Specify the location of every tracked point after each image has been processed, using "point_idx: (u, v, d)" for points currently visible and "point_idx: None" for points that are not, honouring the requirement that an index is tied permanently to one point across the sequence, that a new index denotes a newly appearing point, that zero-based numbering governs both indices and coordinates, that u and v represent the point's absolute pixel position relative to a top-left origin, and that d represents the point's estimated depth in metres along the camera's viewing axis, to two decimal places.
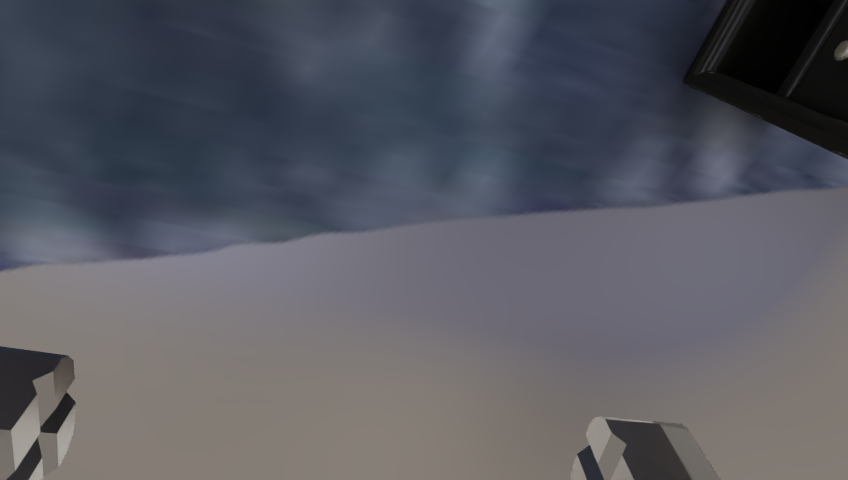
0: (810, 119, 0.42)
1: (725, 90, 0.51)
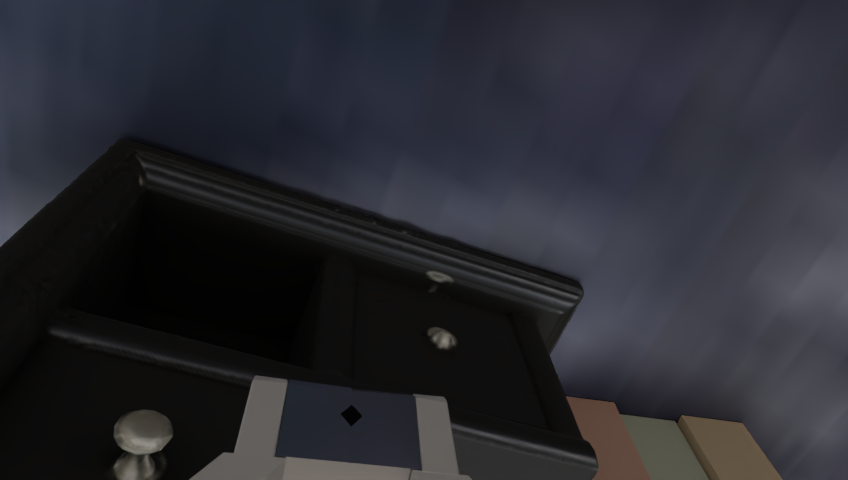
0: None
1: (79, 204, 0.22)
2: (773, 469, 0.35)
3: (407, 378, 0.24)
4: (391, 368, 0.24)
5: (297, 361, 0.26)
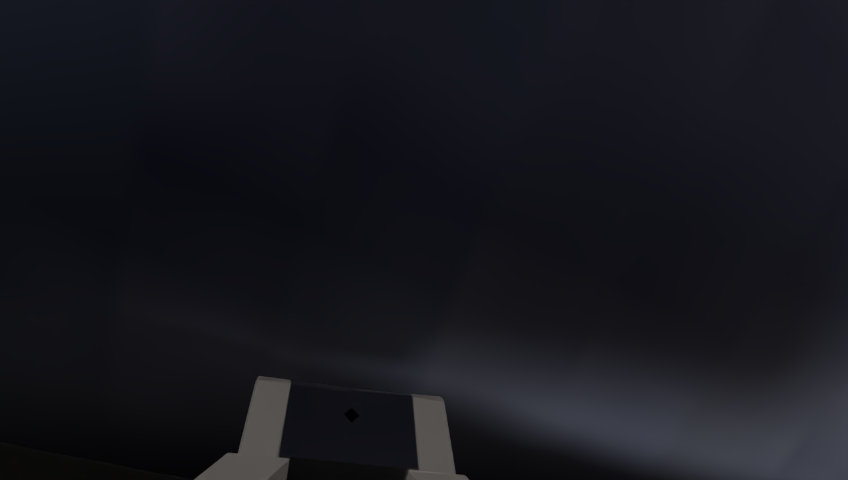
0: None
1: None
2: None
3: None
4: None
5: None
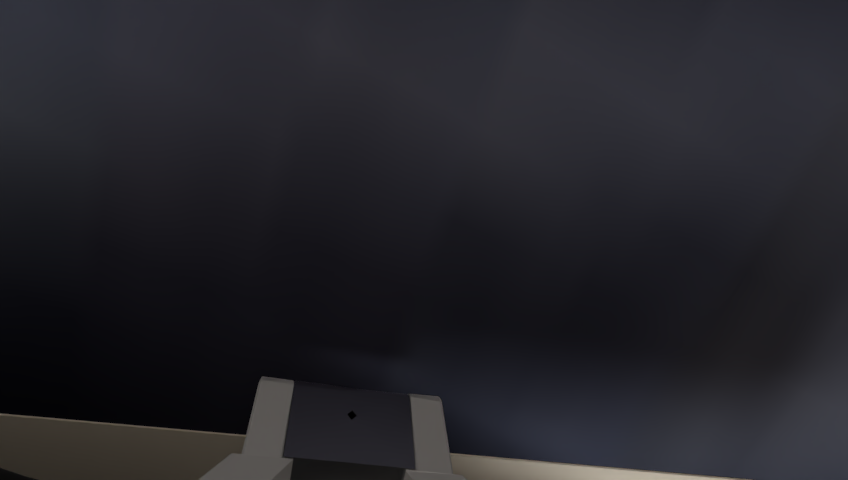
0: None
1: None
2: None
3: None
4: None
5: None
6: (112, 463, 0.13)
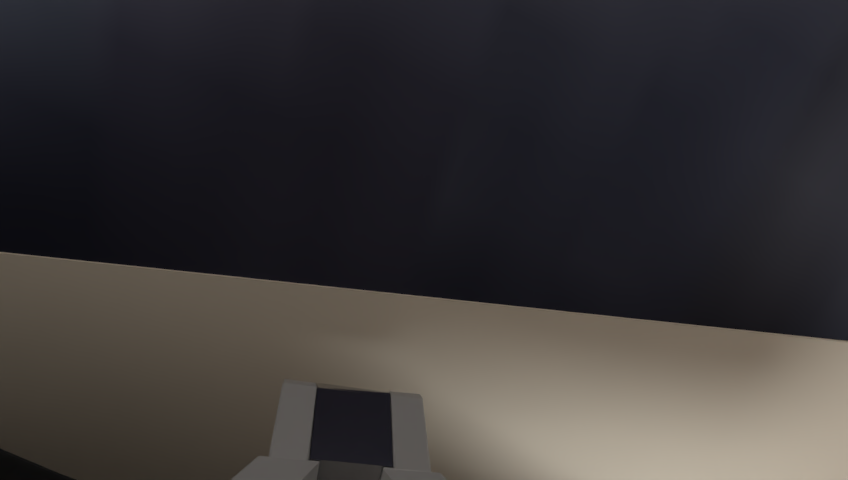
0: None
1: None
2: None
3: None
4: None
5: None
6: (135, 314, 0.12)
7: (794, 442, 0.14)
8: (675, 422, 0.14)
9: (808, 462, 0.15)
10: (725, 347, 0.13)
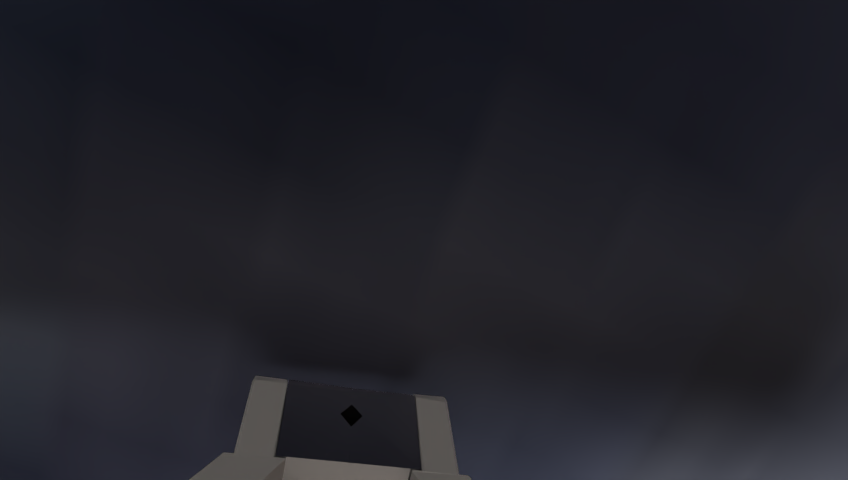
0: None
1: None
2: None
3: None
4: None
5: None
6: None
7: None
8: None
9: None
10: None
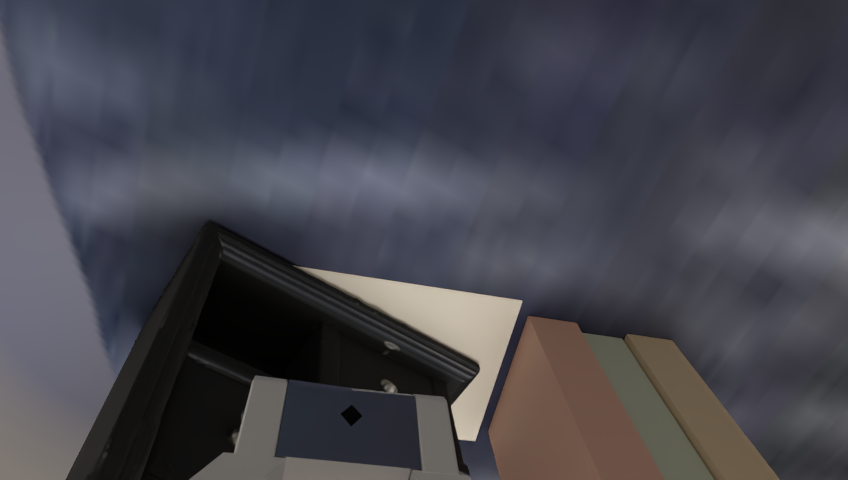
0: (158, 395, 0.28)
1: (199, 274, 0.37)
2: (692, 368, 0.48)
3: None
4: None
5: None
6: None
7: (482, 326, 0.49)
8: (445, 318, 0.48)
9: (488, 333, 0.49)
10: (457, 296, 0.47)
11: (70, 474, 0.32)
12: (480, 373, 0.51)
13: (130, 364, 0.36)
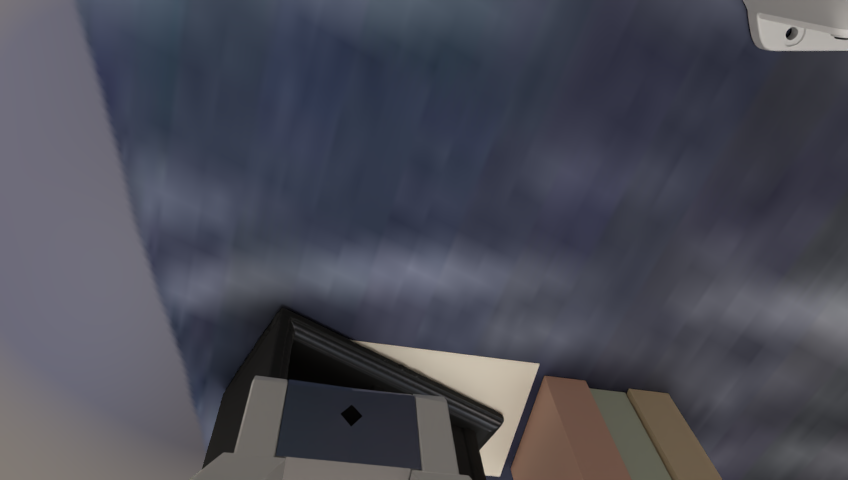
0: None
1: (281, 360, 0.46)
2: (684, 420, 0.56)
3: None
4: None
5: None
6: None
7: (505, 384, 0.58)
8: (474, 378, 0.57)
9: (510, 390, 0.58)
10: (484, 361, 0.56)
11: None
12: (504, 422, 0.60)
13: (230, 433, 0.45)
